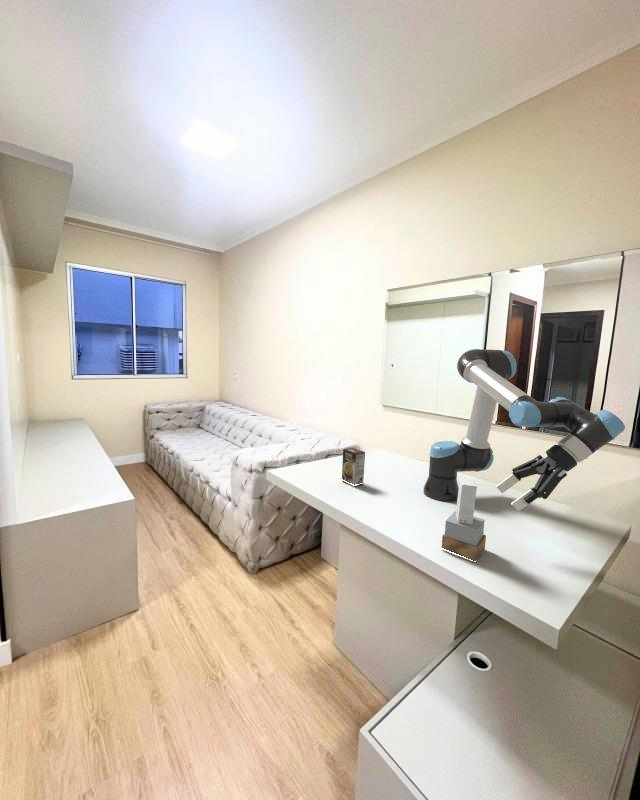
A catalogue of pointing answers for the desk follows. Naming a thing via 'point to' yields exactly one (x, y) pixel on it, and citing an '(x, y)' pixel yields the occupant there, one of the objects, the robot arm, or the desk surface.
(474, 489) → the skincare box
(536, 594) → the desk surface
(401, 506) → the desk surface
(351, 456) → the coffee box
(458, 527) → the tower top block
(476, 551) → the tower base block
